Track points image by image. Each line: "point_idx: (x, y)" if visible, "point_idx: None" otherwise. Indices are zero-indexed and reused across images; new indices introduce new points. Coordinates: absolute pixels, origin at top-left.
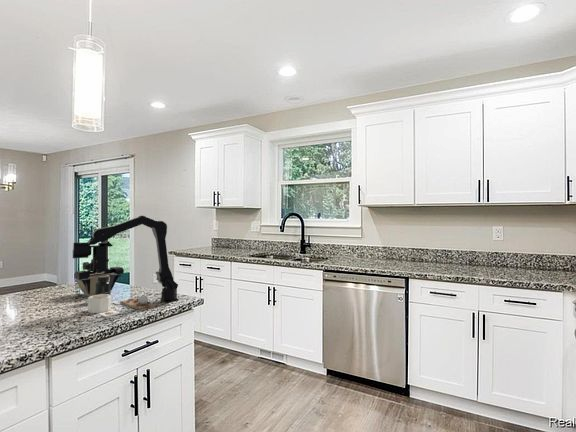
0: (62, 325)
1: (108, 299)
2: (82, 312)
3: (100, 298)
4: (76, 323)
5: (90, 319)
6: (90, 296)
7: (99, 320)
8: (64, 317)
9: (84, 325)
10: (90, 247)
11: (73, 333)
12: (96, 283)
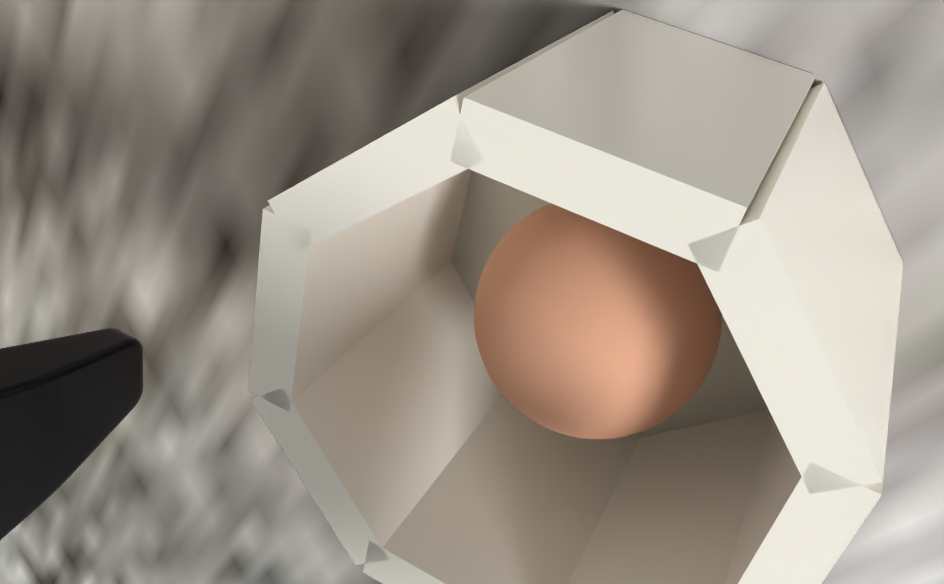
0: (2, 301)
1: None
2: (383, 40)
3: (390, 558)
4: None
5: (256, 456)
6: (395, 137)
7: (291, 576)
8: (95, 12)
9: (133, 519)
10: None
11: (17, 551)
12: None
